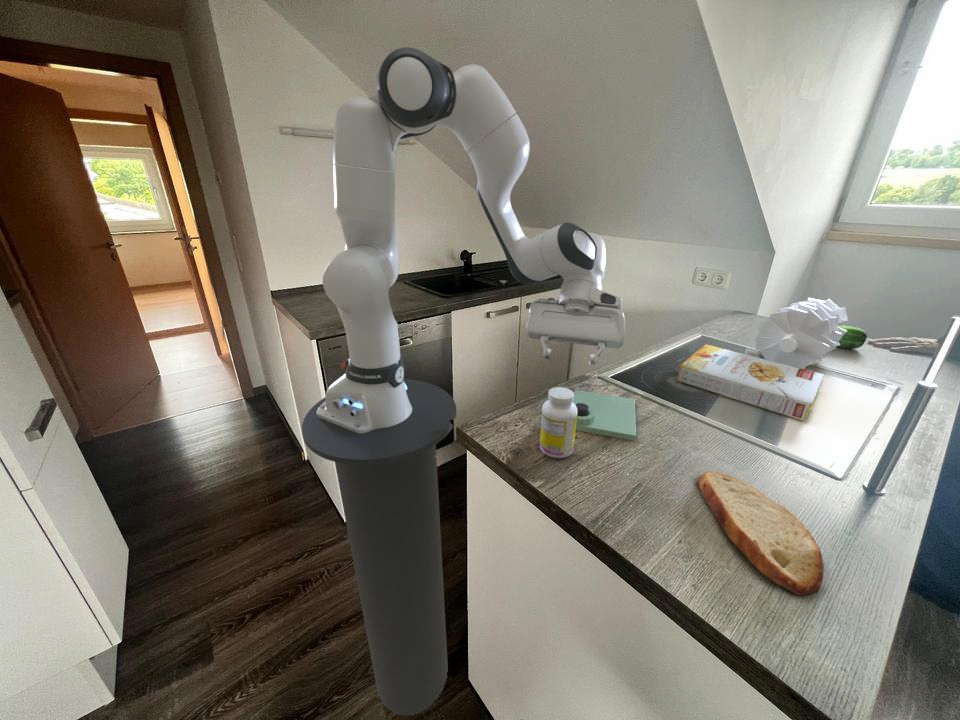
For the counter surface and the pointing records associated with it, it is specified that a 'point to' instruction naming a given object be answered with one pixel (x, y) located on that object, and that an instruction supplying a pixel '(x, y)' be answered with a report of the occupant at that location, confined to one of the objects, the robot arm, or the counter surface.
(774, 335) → the spiral staircase
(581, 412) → the button
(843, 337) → the vegetable
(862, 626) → the counter surface
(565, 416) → the supplement bottle
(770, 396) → the cereal box
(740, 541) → the bread slice
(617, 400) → the scale
